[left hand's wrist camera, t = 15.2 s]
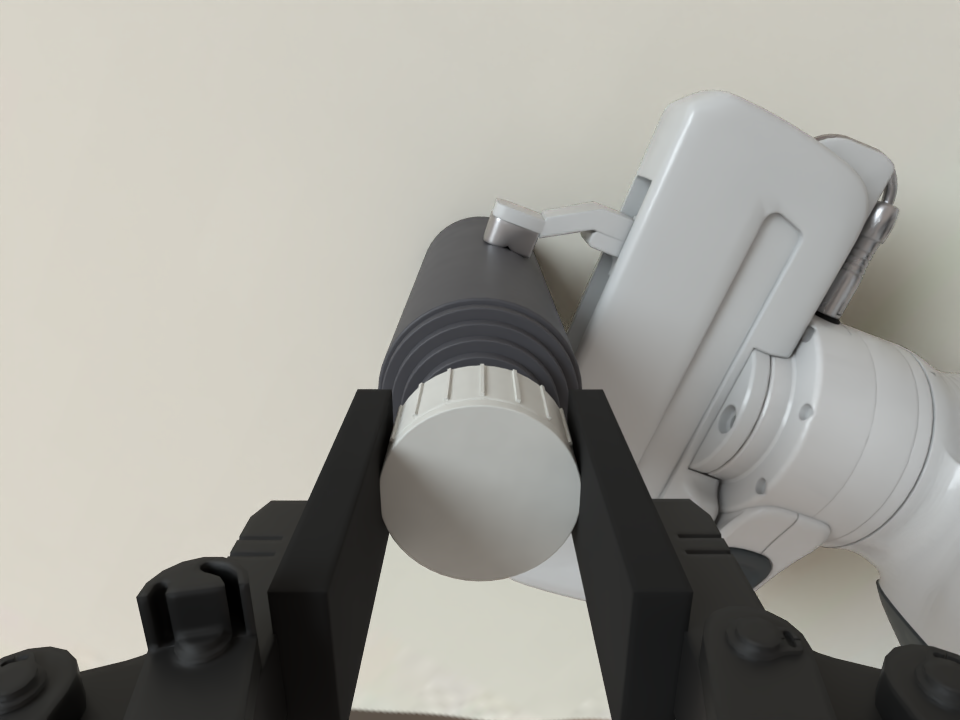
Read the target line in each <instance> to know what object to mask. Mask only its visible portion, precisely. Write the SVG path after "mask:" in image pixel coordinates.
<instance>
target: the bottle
mask: <svg viewBox="0 0 960 720" xmlns="http://www.w3.org/2000/svg"><path fill="white" fill-rule="evenodd" d="M489 218H490V217H471V218H466V219H463V220H460V221H457V222H455V223H453V224H451V225H450V226H448V227H446V228H445V229H444V230H443V231H441V232H440V233H439V234H438V235H437V236H436V238H435V239H434V240H433V242H432V243H431V245H430V246H429V248H428V250H427V253H426V255H425V258H424V260H423V263H422V265H421V268H420V270H419V273H418V275H417V278H416V280H415V283H414V286H413V288H412V291H411V293H410V296H409V298H408V301H407V303H406V306H405V308H404V311H403V313H402V316H401V318H400V321H399V323H398V326H397V328H396V331H395V334H394V336H393V339H392V341H391V344H390V346H389V349H388V351H387V354H386V356H385V359H384V362H383V364H382V367H381V372H380V376H379V386H378V389H392V402H393V421H394V423H395V419H396V416H397V412H398V409H399V406H400V405H402V406H403V405H404V403H405V402H406V401H407V399H408V398H409V397H410V396H411V395H412V394H413V393H414V392H415V390H416V389H418V387H419V384H420V383H423V384H424V383H425V382H427V381H428V380H430V379H432V378H433V377H435V376H437V375H439V374H442V373H444V372H446V371H447V369H449V368H451V369H456V368H461V367H467V366H478V365H480V364H484V365H485V366H494V367H499V368H504V369H508V370H512V371H513V369H514V370H517V373H519V374H521V375H523V376H525V377H527V378H529V379H531V380H532V381H534V382H535V383H537V384H538V385H539V386H541V385H543V386H544V388H545V391H546V392H547V393H548V394H549V395H550V396H551V397H552V399H553V400H554V401H555V403H556V404H557V406H558V407H559V409H560V408H562V409H563V411H564V414H565V418H566V421H567V412H568V393H569V389H582V379H581V374H580V370H579V365H578V363H577V360H576V358H575V355H574V353H573V350H572V347H571V345H570V342H569V340H568V337H567V335H566V332H565V330H564V327H563V325H562V322H561V320H560V317H559V315H558V312H557V309H556V307H555V304H554V302H553V299H552V297H551V294H550V292H549V289H548V287H547V284H546V282H545V279H544V276H543V274H542V271H541V269H540V266H539V264H538V261H537V259H536V256H535V254H534V251H532V253H531V256H530V258H526V257H524V256H521V255H518V254H516V253H514V252H512V251H511V250H510V248H509V247H508V246H506V247H503V248H501V247H498V246H494V245H492V244H489V243H487V242H486V241H484V240H483V238H484V236H483V235H484V232H485V229H486V226H487V224H488V221H489Z"/></svg>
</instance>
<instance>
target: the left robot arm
mask: <svg viewBox="0 0 960 720" xmlns="http://www.w3.org/2000/svg"><path fill="white" fill-rule="evenodd" d="M567 425H568V429H569V432H570V436H571V439H572V443H573V444H572V447H573V451H574V454H575V458H576V461H577V465H578V469H579V472H580V476H581V489H580V505H579V516H578V519H577V522H576V524H575V526H574V528H573V530H572V532H571V534H572V539H573V543H574V548H575V552H576V557H577V562H578V566H579V571H580V575H581V580H582V585H583V589H584V594H585V598H586V603H587V608H588V612H589V617H590V621H591V626H592V631H593V635H594V640H595V644H596V649H597V654H598V658H599V663H600V667H601V672H602V677H603V681H604V686H605V690H606V695H607V700H608V704H609V709H610V713H611V718H612V720H675V719H676V720H960V655H958V654H955V653H952V652H949V651H946V650H943V649H940V648H937V647H934V646H926V645H917V644H909V645H904V646H899V647H895V648H894V649H893V650H892V651H891V652H890V653H888V654H887V655H886V656H885V659H884V663H883V666H882V669H878V668H873V667H869V666H865V665H861V664H857V663H853V662H848V661H844V660H840V659H836V658H833V657H830V656H826V655H823V654H820V653H817V652H815V651H813V650H812V649H811V647H810V645H809V644H808V642H807V641H806V639H805V637H804V636H803V634H802V633H801V632H799V631H798V630H797V629H796V628H795V627H794V626H792V625H791V624H790V623H789V622H788V621H786V620H784V619H782V618H780V617H778V616H776V615H774V614H772V613H770V612H768V611H765V609H764V607H763V606H762V604H761V602H760V600H759V599H758V597H757V595H756V594H755V592H754V590H753V588H752V587H751V585H750V583H749V581H748V580H747V578H746V576H745V574H744V573H743V571H742V569H741V567H740V566H739V564H738V562H737V561H736V559H735V557H734V555H733V554H731V552H730V551H731V550H730V548H729V547H728V545H727V543H726V541H725V540H724V538H722V537H721V533H720V531H719V529H718V528H717V526H716V524H715V522H714V521H713V519H712V517H711V515H710V514H708V513H707V512H706V511H704V510H703V509H702V508H701V507H699V506H698V505H697V504H696V503H694V502H693V501H692V500H690V499H652V498H651V496H650V494H649V491H648V489H647V487H646V485H645V482H644V480H643V478H642V476H641V473H640V471H639V469H638V467H637V465H636V462H635V460H634V458H633V456H632V453H631V451H630V449H629V447H628V444H627V442H626V440H625V438H624V435H623V433H622V431H621V429H620V427H619V424H618V422H617V420H616V418H615V415H614V413H613V411H612V409H611V406H610V404H609V402H608V400H607V398H606V395H605V393H604V391H603V389H569V393H568V412H567ZM393 426H394V421H393V402H392V389H358V390H357V392H356V394H355V396H354V399H353V401H352V403H351V405H350V408H349V410H348V412H347V414H346V417H345V419H344V421H343V423H342V425H341V428H340V430H339V432H338V434H337V437H336V439H335V441H334V443H333V446H332V448H331V450H330V452H329V455H328V457H327V459H326V461H325V464H324V466H323V468H322V470H321V472H320V475H319V477H318V479H317V481H316V484H315V486H314V488H313V490H312V493H311V495H310V497H309V499H308V501H270V502H269V503H268V504H267V505H265V506H264V507H263V508H261V509H260V510H259V511H258V512H256V513H255V514H254V515H253V516H251V517H250V519H249V521H248V522H247V524H246V526H245V528H244V529H243V531H242V533H241V535H240V536H239V537H240V538H239V540H237V542H236V543H235V545H234V547H233V549H232V550H231V552H230V556H228V557H227V558H224V557H202V558H197V559H193V560H189V561H184V562H181V563H179V564H177V565H175V566H172V567H170V568H168V569H166V570H163V571H162V572H161V573H159V574H158V575H157V576H155V577H154V578H153V579H151V580H150V581H149V582H147V583H146V584H145V586H144V587H143V589H142V590H141V591H140V593H139V594H138V596H137V597H136V598H137V603H138V607H139V611H140V616H141V620H142V625H143V629H144V633H145V638H146V642H147V646H148V652H147V654H145V655H143V656H139V657H136V658H133V659H130V660H127V661H123V662H119V663H115V664H111V665H106V666H102V667H98V668H94V669H90V670H86V671H82V672H80V671H79V667H78V664H77V660H76V659H75V658H74V657H73V656H72V655H71V654H70V653H69V652H68V651H67V650H64V649H59V648H55V647H41V648H32V649H26V650H23V651H20V652H17V653H15V654H12V655H9V656H6V657H3V658H1V659H0V720H349V715H350V711H351V706H352V702H353V697H354V693H355V688H356V683H357V679H358V674H359V670H360V665H361V660H362V656H363V651H364V647H365V642H366V637H367V633H368V628H369V624H370V619H371V614H372V610H373V605H374V601H375V596H376V591H377V587H378V582H379V578H380V573H381V568H382V564H383V559H384V555H385V550H386V545H387V541H388V536H389V531H388V530H387V527H386V525H385V523H384V521H383V518H382V511H381V496H380V474H381V470H382V466H383V463H384V459H385V455H386V452H387V448H388V445H389V441H390V437H391V433H392V430H393Z"/></svg>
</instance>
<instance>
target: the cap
mask: <svg viewBox="0 0 960 720" xmlns="http://www.w3.org/2000/svg"><path fill="white" fill-rule="evenodd" d="M572 444H573V443H572V439H571V436H570V432H569V429H568V425H567V421H566V418H565V414H564V411H563V409H562V408H560V409H559V407H558V406H557V404H556V403H555V401H554V400H553V399H552V397H551V396H550V395H549V394H548V393H547V392H546V391H545V388H544V386H543V385H541V386H539V385H538V384H537V383H535V382H534V381H532V380H531V379H529V378H527V377H525V376H523V375H521V374H519V373H517V370H514V369H513V371H512V370H508V369H504V368H499V367H494V366H485V365H484V364H480V365H478V366H467V367H461V368H456V369H451V368H449V369H447V371H446V372H444V373H442V374H439V375H437V376H435V377H433V378H432V379H430V380H428V381H427V382H425V383H424V384H423V383H420V384H419V387H418V389H416V390H415V392H414V393H413V394H412V395H411V396H410V397H409V398H408V399H407V401H406V402H405V403H404V405H403V406H402V405H400V406H399V409H398V412H397V416H396V419H395V423H394V426H393V430H392V433H391V437H390V441H389V445H388V448H387V452H386V455H385V459H384V463H383V466H382V470H381V474H380V496H381V511H382V518H383V521H384V523H385V525H386V527H387V530H388V531H389V533H390V534H391V536H392V538H393V539H394V541H395V542H396V543H397V544H398V545H399V547H400V548H401V549H402V550H403V551H404V552H405V553H406V554H407V555H408V556H409V557H411V558H412V559H413V560H415V561H416V562H418V563H419V564H421V565H422V566H424V567H426V568H428V569H429V570H432V571H434V572H436V573H439V574H441V575H444V576H448V577H451V578H455V579H461V580H468V581H493V580H500V579H505V578H509V577H513V576H516V575H519V574H522V573H524V572H527V571H529V570H531V569H533V568H535V567H537V566H538V565H540V564H541V563H543V562H544V561H546V560H547V559H549V558H550V557H551V556H552V555H553V554H554V553H555V552H557V551H558V549H559V548H560V547H561V546H562V545H563V544H564V543H565V541H566V540H567V538H568V537H569V535H570V534H571V532H572V530H573V528H574V526H575V524H576V522H577V519H578V516H579V505H580V489H581V476H580V472H579V469H578V465H577V461H576V458H575V454H574V451H573V447H572Z"/></svg>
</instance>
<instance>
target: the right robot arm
mask: <svg viewBox="0 0 960 720" xmlns="http://www.w3.org/2000/svg"><path fill="white" fill-rule="evenodd" d="M883 191H884V193H883V196H882V200H881V201H878V199H879V198H880V196H881V194H882V192H883ZM896 193H897V175H896V171H895V169H894V164H893V162H892V161H891V160H890V159H889V158H888V157H887V156H886V155H885V154H884V153H882V152H881V151H880V150H878V149H876V148H874V147H871V146H869V145H866V144H864V143H862V142H859V141H857V140H855V139H852V138H850V137H848V136H845V135H840V134H825V135H820V136H817V137H814V138H813V137H811V136H810V135H808V134H807V133H805V132H804V131H802V130H800V129H799V128H797V127H796V126H794V125H792V124H791V123H789V122H787V121H786V120H784V119H782V118H780V117H779V116H777V115H775V114H773V113H771V112H770V111H768V110H766V109H764V108H762V107H760V106H758V105H756V104H754V103H752V102H750V101H748V100H746V99H744V98H741V97H739V96H737V95H734V94H732V93H729V92H725V91H720V90H704V91H699V92H696V93H693V94H690V95H688V96H685V97H683V98H681V99H678V100H676V101H674V102H672V103H670V104H669V105H668V106H667V107H666V108H665V110H664V111H663V113H662V116H661V118H660V120H659V122H658V124H657V127H656V129H655V131H654V134H653V136H652V138H651V140H650V143H649V145H648V147H647V150H646V152H645V154H644V156H643V159H642V161H641V163H640V166H639V168H638V170H637V172H636V175H635V177H634V179H633V182H632V184H631V186H630V188H629V191H628V193H627V195H626V198H625V200H624V202H623V204H622V207H621V209H620V211H617V210H614V209H612V208H609V207H606V206H604V205H601V204H598V203H596V202H593V201H592V202H587V203H581V204H576V205H570V206H565V207H559V208H553V209H548V210H542V212H541V213H538V212H535V211H533V210H530V209H527V208H525V207H522V206H519V205H517V204H514V203H512V202H509V201H506V200H502V199H498V198H497V199H496V201H495V204H494V207H493V210H492V212H491V215H490V218H489V221H488V224H487V226H486V229H485V232H484V235H483V236H484V238H483V240H484V241H486V242H487V243H489V244H492V245H494V246H498V247H501V248H503V247H506V246H508V247H509V248H510V250H511V251H512V252H514V253H516V254H518V255H521V256H524V257H526V258H530V256H531V253H532V251H533V249H534V246H535V244H536V242H537V239H538V237H539V238H545V237H551V236H557V235H564V234H570V233H577V232H581V236H582V238H583V239H584V240H585V241H586V242H587V243H588V245H589V246H590V247H592V248H594V249H597V250H599V251H602V252H601V255H600V257H599V259H598V262H597V264H596V266H595V268H594V271H593V273H592V275H591V278H590V280H589V282H588V284H587V287H586V289H585V291H584V294H583V296H582V298H581V300H580V303H579V305H578V307H577V310H576V312H575V314H574V316H573V319H572V321H571V323H570V326H569V328H568V330H567V332H566V335H567V337H568V340H569V342H570V345H571V347H572V350H573V353H574V355H575V358H576V360H577V363H578V365H579V370H580V374H581V379H582V389H603V391H604V393H605V395H606V398H607V400H608V402H609V404H610V406H611V409H612V411H613V413H614V415H615V418H616V420H617V422H618V424H619V427H620V429H621V431H622V433H623V435H624V438H625V440H626V442H627V444H628V447H629V449H630V451H631V453H632V456H633V458H634V460H635V462H636V465H637V467H638V469H639V471H640V473H641V476H642V478H643V480H644V482H645V485H646V487H647V489H648V491H649V494H650V496H651V498H652V499H690V500H692V501H693V502H694V503H696V504H697V505H698V506H699V507H701V508H702V509H703V510H704V511H706V512H707V513H708V514H710V515H711V517H712V519H713V521H714V522H715V524H716V526H717V528H718V529H719V531H720V533H721V537H722V538H724V540H725V541H726V543H727V545H728V547H729V548H730V550H731V551H730V552H731V554H733V555H734V557H735V559H736V561H737V562H738V564H739V566H740V567H741V569H742V571H743V573H744V574H745V576H746V578H747V580H748V581H749V583H750V585H751V587H752V588H753V590H754V592H755V591H756V590H758V589H759V588H760V587H761V586H763V585H764V584H765V583H766V582H768V581H769V580H770V579H772V578H773V577H774V576H776V575H777V574H778V573H780V572H781V571H782V570H784V569H785V568H787V567H788V566H790V565H791V564H793V563H794V562H796V561H798V560H799V559H801V558H802V557H804V556H806V555H807V554H809V553H811V552H812V551H814V550H815V549H817V548H818V547H819V546H820V547H826V548H838V549H845V550H849V551H852V552H855V553H857V554H859V555H861V556H862V557H864V558H865V559H867V560H868V561H869V562H870V563H871V564H873V565H874V566H875V567H876V568H877V570H878V572H879V574H880V579H879V580H877V581H876V584H877V589H878V593H879V596H880V599H881V602H882V605H883V607H884V610H885V612H886V614H887V617H888V619H889V621H890V623H891V626H892V628H893V630H894V632H895V634H896V636H897V638H898V641H899V643H900V645H901V646H904V645H909V644H917V645H926V646H934V647H937V648H940V649H943V650H946V651H949V652H952V653H955V654H958V655H960V373H945V372H940V371H938V370H936V369H934V368H933V367H932V366H931V365H930V364H929V363H927V362H926V361H925V360H924V359H922V358H921V357H919V356H918V355H917V354H915V353H914V352H912V351H910V350H908V349H906V348H904V347H902V346H900V345H898V344H895V343H892V342H890V341H887V340H885V339H882V338H879V337H877V336H874V335H871V334H869V333H866V332H863V331H861V330H858V329H856V328H853V327H850V326H848V325H845V324H843V323H840V322H839V319H840V317H841V316H842V314H843V312H844V311H845V309H846V307H847V305H848V304H849V302H850V300H851V299H852V297H853V295H854V294H855V292H856V290H857V288H858V287H859V285H860V283H861V281H862V279H863V277H862V276H863V275H864V274H865V272H866V270H865V269H866V268H867V267H868V265H869V263H868V262H869V261H871V259H872V257H873V256H872V255H873V254H875V252H876V250H877V249H878V247H879V245H880V244H883V243H884V241H885V240H886V239H887V237H888V236H889V234H890V232H891V230H892V229H893V227H894V225H895V222H896V220H897V217H898V214H899V209H898V208H897V207H895V206H893V204H894V201H895V197H896ZM509 578H510V579H512V580H514V581H516V582H519V583H522V584H525V585H527V586H531V587H534V588H537V589H541V590H544V591H547V592H551V593H555V594H559V595H562V596H566V597H570V598H574V599H579V600H583V601H586V598H585V594H584V589H583V585H582V580H581V575H580V571H579V566H578V562H577V557H576V552H575V548H574V543H573V539H572V534H570V535H569V537H568V538H567V540H566V541H565V543H564V544H563V545H562V546H561V547H560V548H559V549H558V551H557V552H555V553H554V554H553V555H552V556H551V557H550V558H549V559H547V560H546V561H544V562H543V563H541V564H540V565H538V566H537V567H535V568H533V569H531V570H529V571H527V572H524V573H522V574H519V575H516V576H513V577H509Z"/></svg>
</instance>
